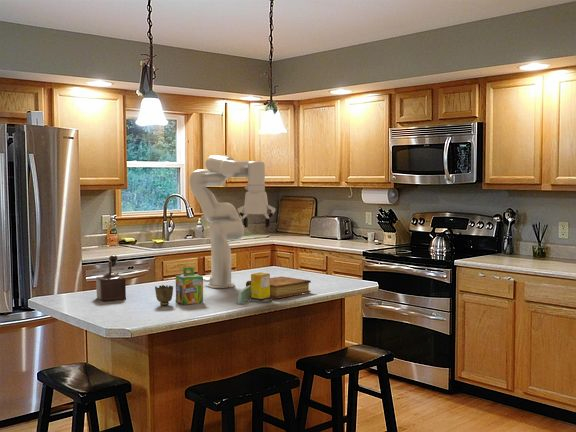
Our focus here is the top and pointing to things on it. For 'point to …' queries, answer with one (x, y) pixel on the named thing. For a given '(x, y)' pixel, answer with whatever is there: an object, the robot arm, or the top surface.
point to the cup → (164, 294)
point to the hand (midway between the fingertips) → (256, 227)
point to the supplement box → (260, 286)
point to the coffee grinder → (111, 284)
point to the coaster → (261, 300)
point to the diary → (286, 286)
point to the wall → (244, 295)
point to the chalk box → (189, 287)
